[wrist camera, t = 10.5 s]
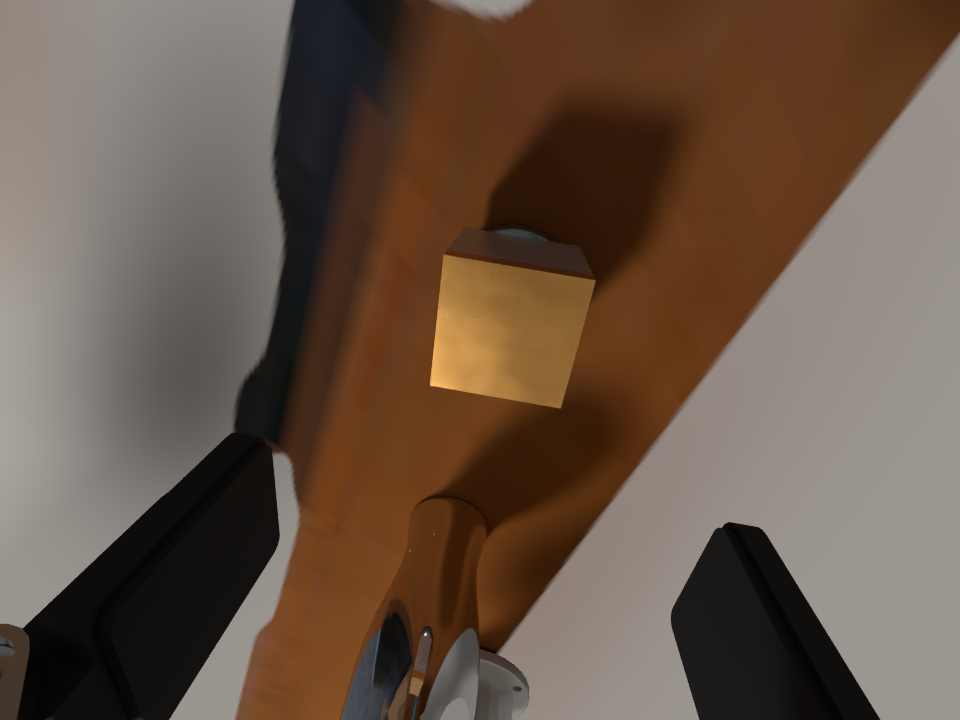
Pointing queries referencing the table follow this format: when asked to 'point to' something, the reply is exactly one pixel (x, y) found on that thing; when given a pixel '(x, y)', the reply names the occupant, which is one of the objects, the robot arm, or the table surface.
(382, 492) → the table surface
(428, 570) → the beer glass
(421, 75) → the table surface
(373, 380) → the table surface
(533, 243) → the wooden tan cube
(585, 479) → the table surface
